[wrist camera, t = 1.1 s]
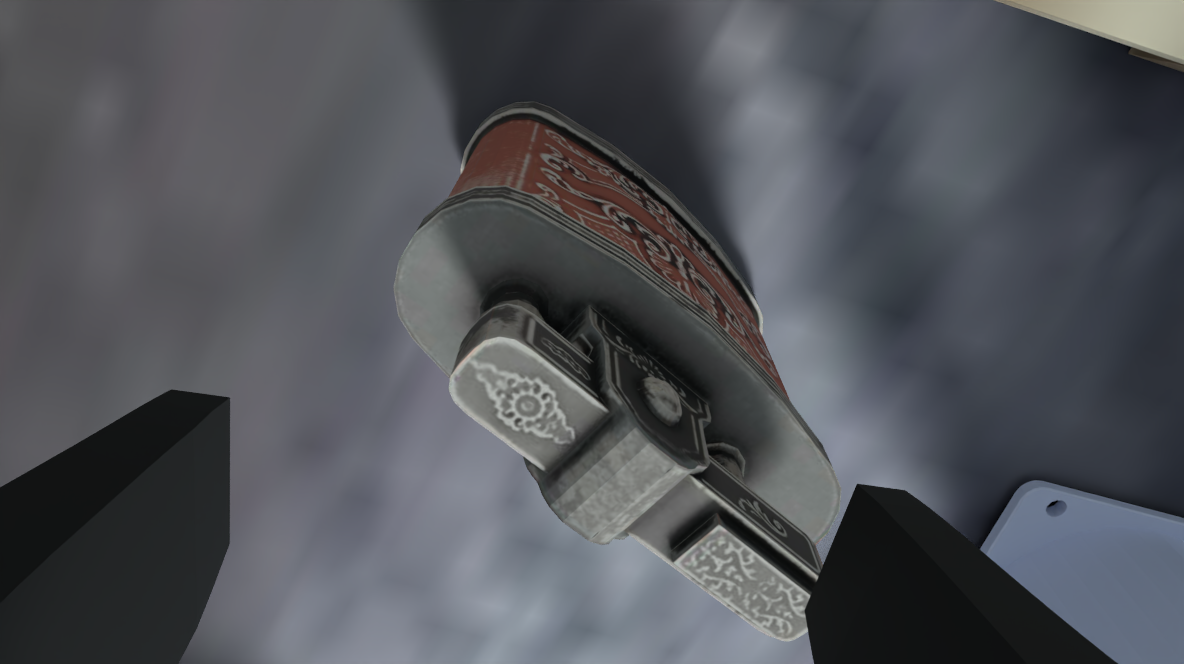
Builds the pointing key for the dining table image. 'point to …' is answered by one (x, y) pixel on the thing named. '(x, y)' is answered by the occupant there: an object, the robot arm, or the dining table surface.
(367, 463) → the dining table surface
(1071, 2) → the shelf stand
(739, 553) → the lighter
